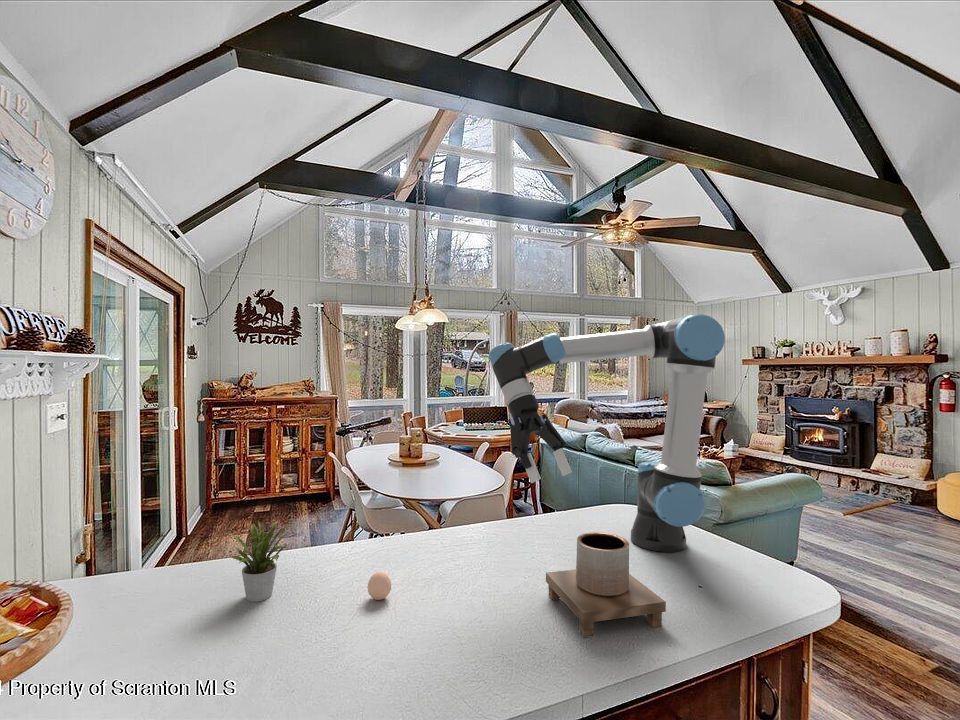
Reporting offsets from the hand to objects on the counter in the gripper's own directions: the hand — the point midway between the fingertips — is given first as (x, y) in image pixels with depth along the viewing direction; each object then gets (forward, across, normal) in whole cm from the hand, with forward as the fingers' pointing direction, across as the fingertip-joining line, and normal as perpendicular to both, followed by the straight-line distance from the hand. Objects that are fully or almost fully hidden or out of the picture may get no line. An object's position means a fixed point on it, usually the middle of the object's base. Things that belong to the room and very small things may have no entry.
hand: (552, 477), depth 123 cm
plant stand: (+30, +6, +3) cm, 30 cm away
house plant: (+3, +52, -47) cm, 70 cm away
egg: (+12, +35, -30) cm, 48 cm away
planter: (+26, +6, +6) cm, 27 cm away
